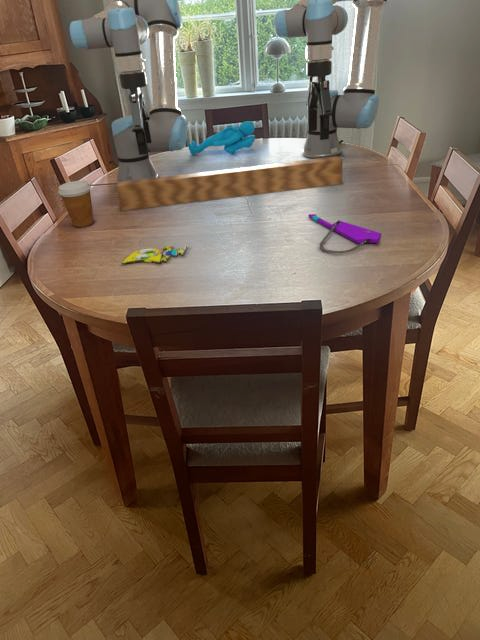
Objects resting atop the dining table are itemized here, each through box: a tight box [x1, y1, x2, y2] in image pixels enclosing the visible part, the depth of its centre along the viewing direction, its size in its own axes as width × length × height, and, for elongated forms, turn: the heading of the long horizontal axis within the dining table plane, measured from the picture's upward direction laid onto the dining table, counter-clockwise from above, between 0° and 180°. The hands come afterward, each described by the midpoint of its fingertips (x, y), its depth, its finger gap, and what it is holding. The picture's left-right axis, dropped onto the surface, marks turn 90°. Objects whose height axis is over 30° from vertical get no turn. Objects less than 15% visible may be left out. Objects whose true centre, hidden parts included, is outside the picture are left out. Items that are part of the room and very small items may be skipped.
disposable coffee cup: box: [58, 180, 95, 228], centre depth 147 cm, size 10×10×12 cm
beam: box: [115, 155, 344, 212], centre depth 160 cm, size 74×4×8 cm, turn 98°
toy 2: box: [187, 120, 256, 156], centre depth 208 cm, size 17×11×30 cm
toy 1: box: [121, 245, 188, 265], centre depth 125 cm, size 10×1×15 cm
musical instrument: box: [308, 213, 382, 254], centre depth 126 cm, size 24×2×20 cm
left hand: (145, 148), depth 149 cm, fingers open, 13 cm apart
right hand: (318, 134), depth 155 cm, fingers open, 13 cm apart
